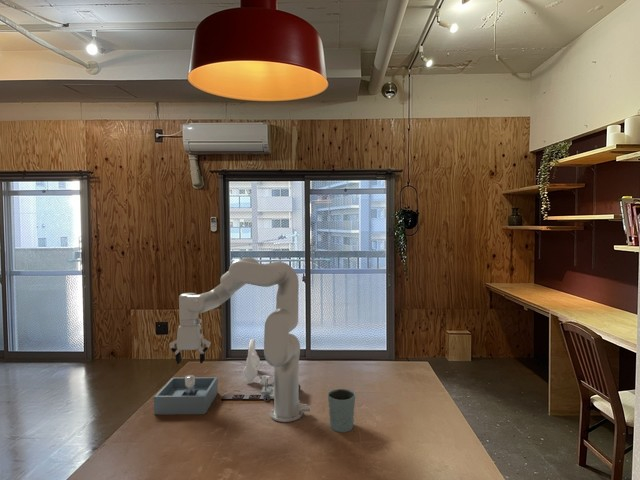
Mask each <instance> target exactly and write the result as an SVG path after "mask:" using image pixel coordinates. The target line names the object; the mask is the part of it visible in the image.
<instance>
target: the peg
mask: <svg viewBox="0 0 640 480" xmlns="http://www.w3.org/2000/svg"><path fill="white" fill-rule="evenodd" d="M195 377H196V376H195V375H194V374H188V375H185V396H195Z"/></svg>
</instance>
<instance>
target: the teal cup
mask: <svg viewBox="0 0 640 480" xmlns="http://www.w3.org/2000/svg"><path fill="white" fill-rule="evenodd" d="M327 399H328V408H329V410H328V412H329V413H328V414H329V427H330V429H331V430H333V431H335V432H337V433H347V432H351V431H352V430H353V428H354V422H355V420H354V419H355V418H354V415H355V404H356V403H355V402H356V393H355V392H354V391H352V390H351V389H345V388H337V389H332V390H329V392H328V393H327Z"/></svg>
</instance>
